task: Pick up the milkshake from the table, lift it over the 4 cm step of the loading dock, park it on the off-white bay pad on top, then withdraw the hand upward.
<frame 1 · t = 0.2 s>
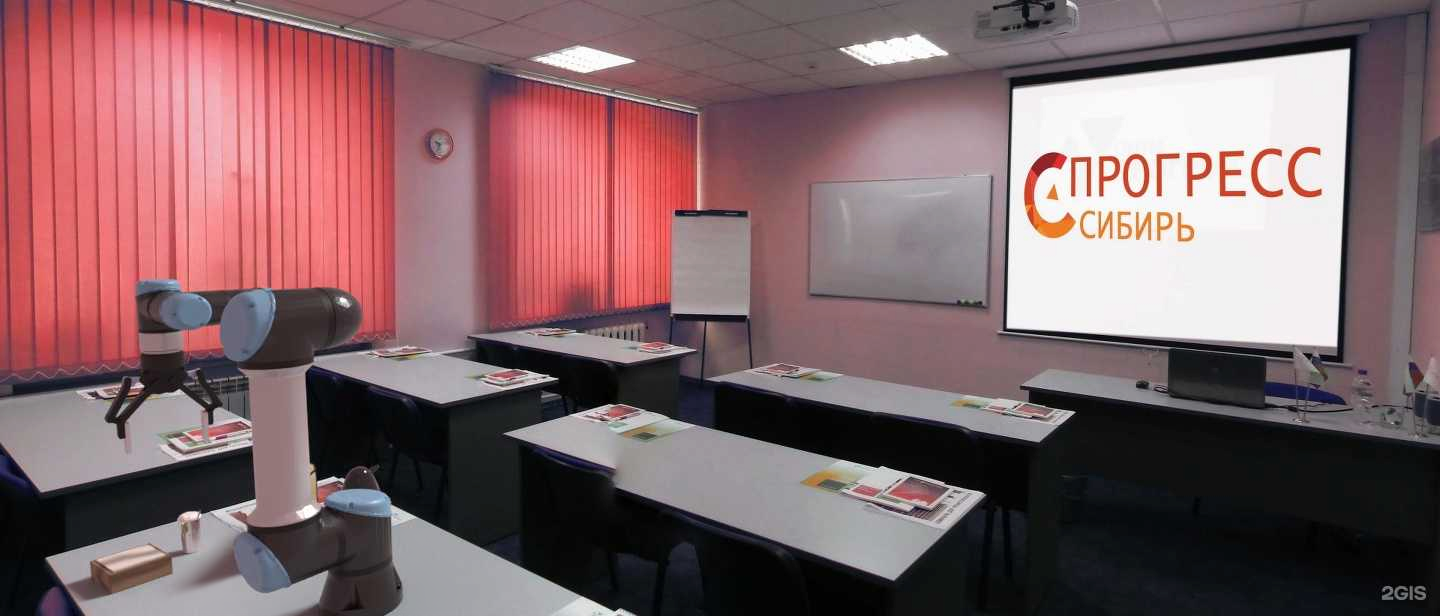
hand: (168, 446, 155), 27 cm above the table, tool pointing down, fingers open, 13 cm apart
dock: (132, 576, 152), on the table
clutch purse: (283, 542, 170), on the table
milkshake: (193, 551, 164), on the table
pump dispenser: (361, 525, 180), on the table
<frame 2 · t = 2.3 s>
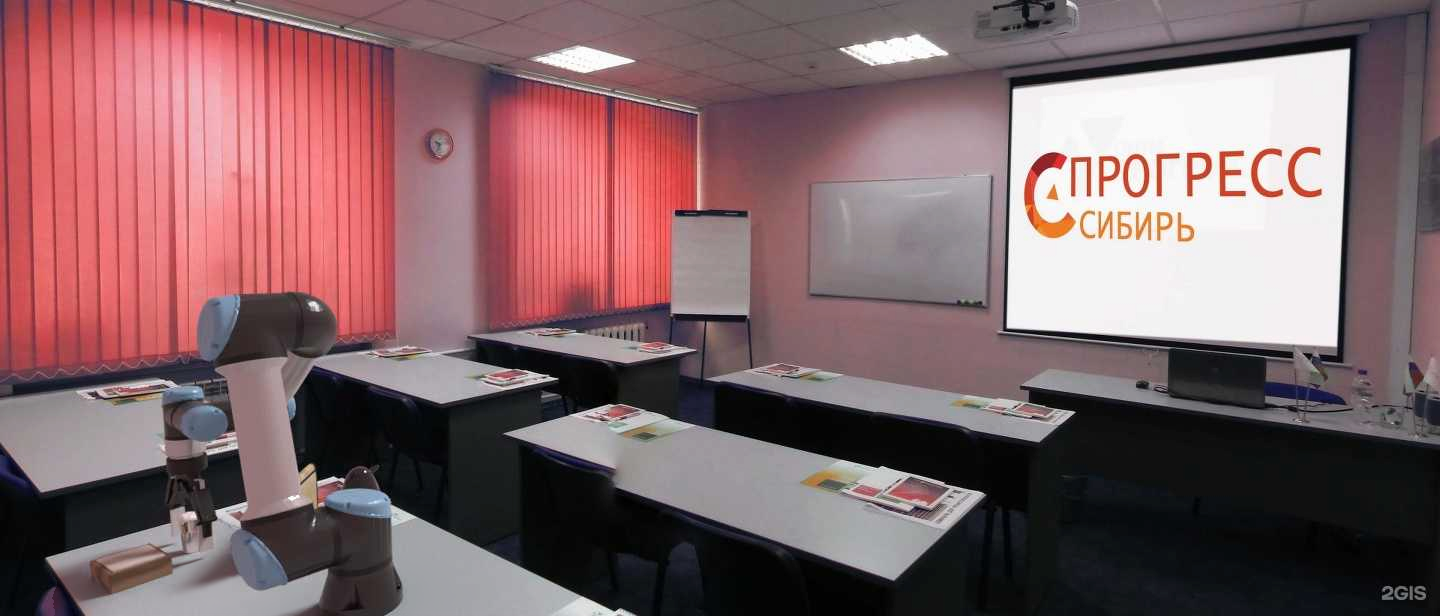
hand: (192, 542, 164), 2 cm above the table, tool pointing down, fingers open, 13 cm apart
nothing on the table moved.
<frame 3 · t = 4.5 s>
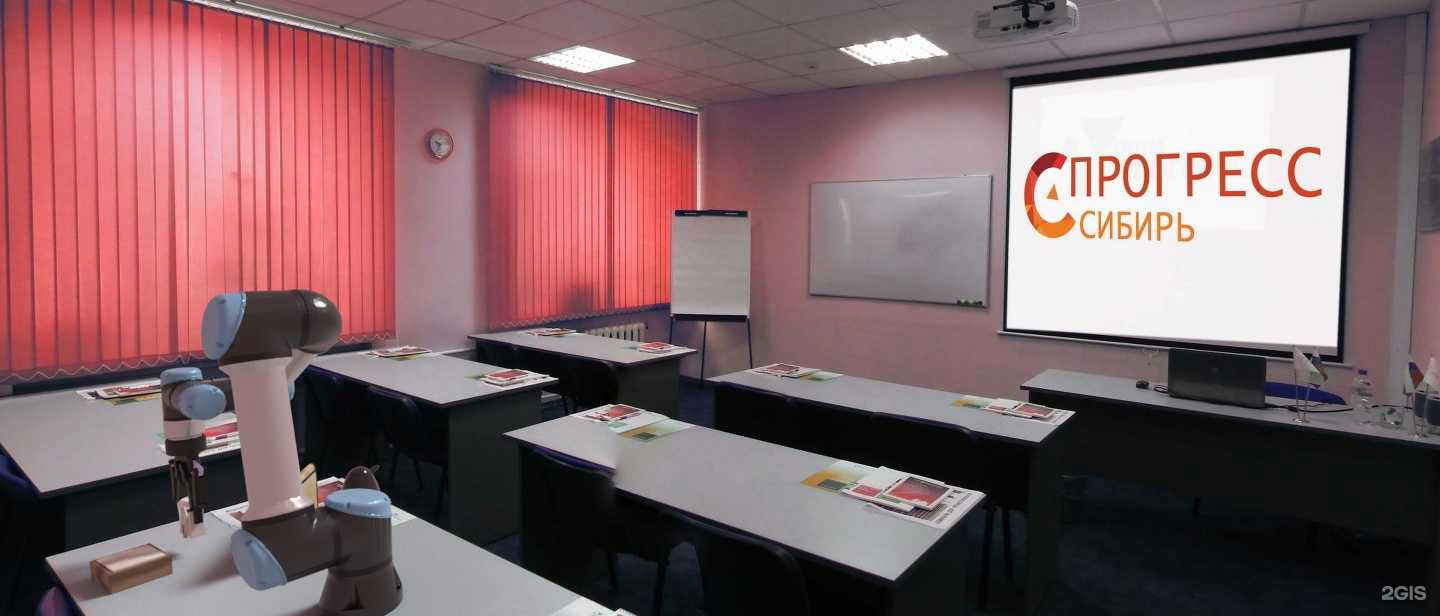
hand: (192, 533, 163), 4 cm above the table, tool pointing down, fingers closed on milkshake, 4 cm apart
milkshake: (193, 536, 163), point 4 cm above the table, touching gripper
everything else where it was.
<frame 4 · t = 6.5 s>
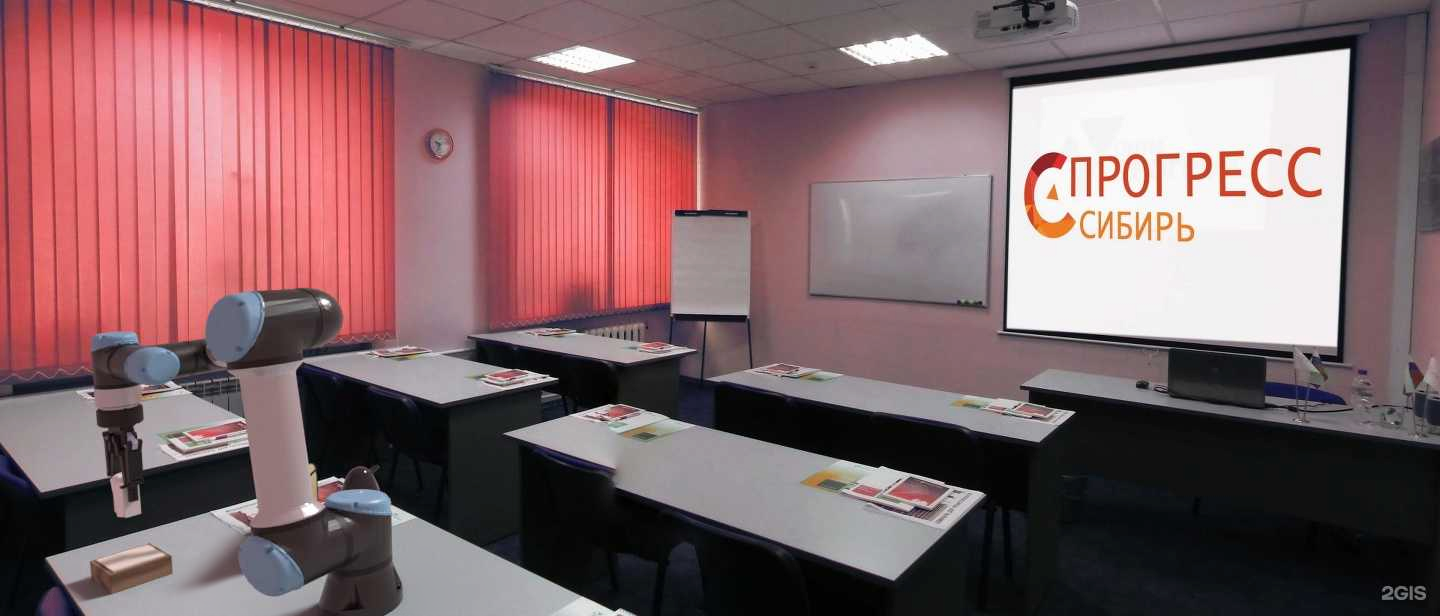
hand: (127, 512, 150), 14 cm above the table, tool pointing down, fingers closed on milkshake, 4 cm apart
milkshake: (128, 515, 150), point 14 cm above the table, touching gripper
everything else where it was.
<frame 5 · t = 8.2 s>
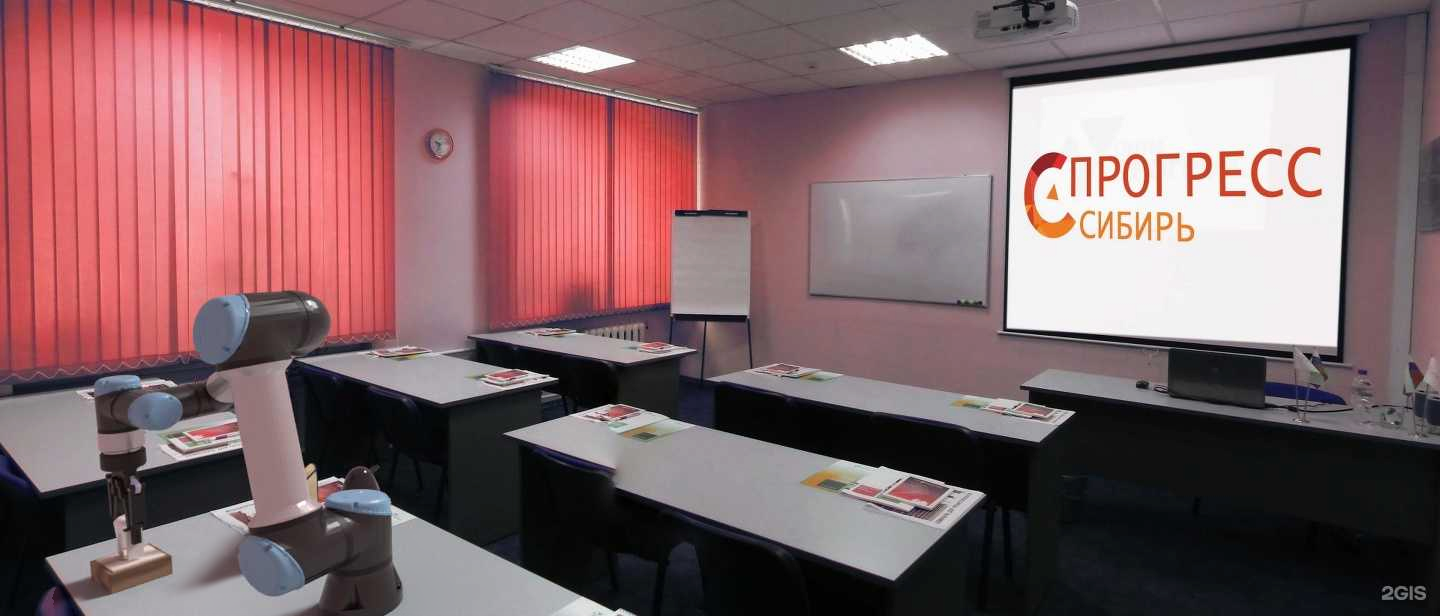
hand: (131, 554, 151), 5 cm above the table, tool pointing down, fingers closed on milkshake, 4 cm apart
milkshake: (131, 557, 151), point 4 cm above the table, touching gripper
everything else where it was.
when the fingers open (5 cm above the table, at t = 8.8 s): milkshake stays where it is, resting on dock.
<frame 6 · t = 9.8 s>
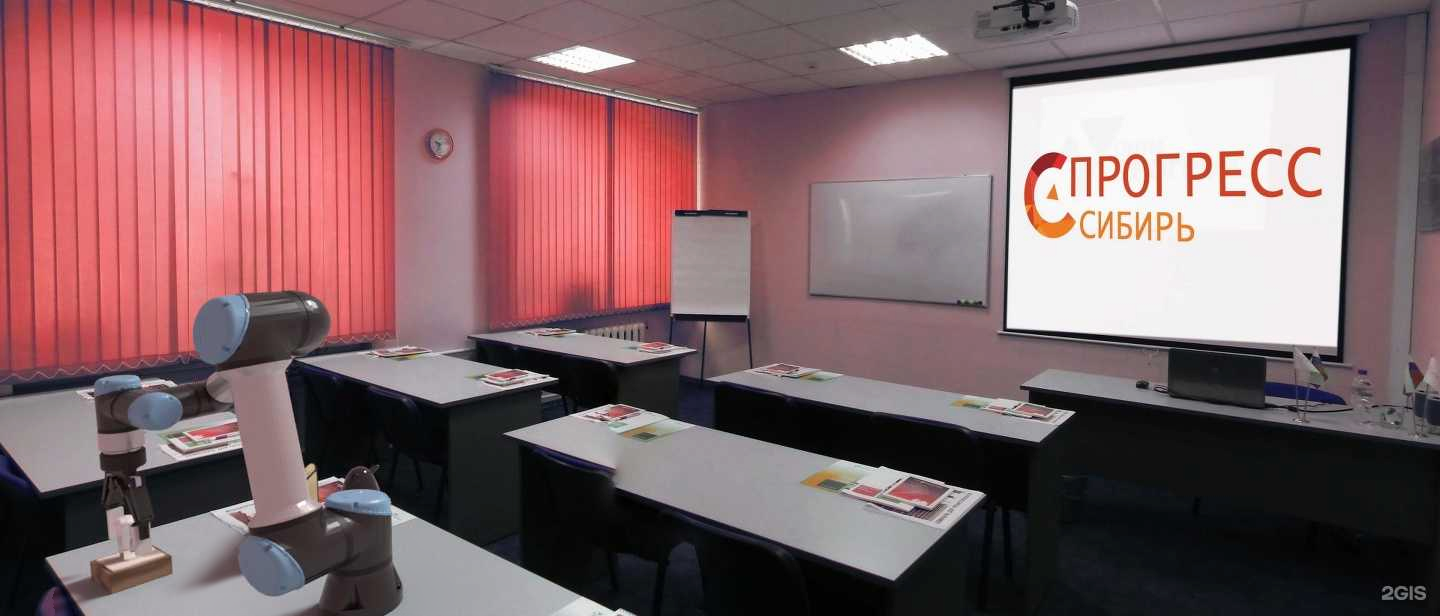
hand: (130, 545, 151), 7 cm above the table, tool pointing down, fingers open, 13 cm apart
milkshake: (131, 558, 151), point 4 cm above the table, touching dock
everything else where it was.
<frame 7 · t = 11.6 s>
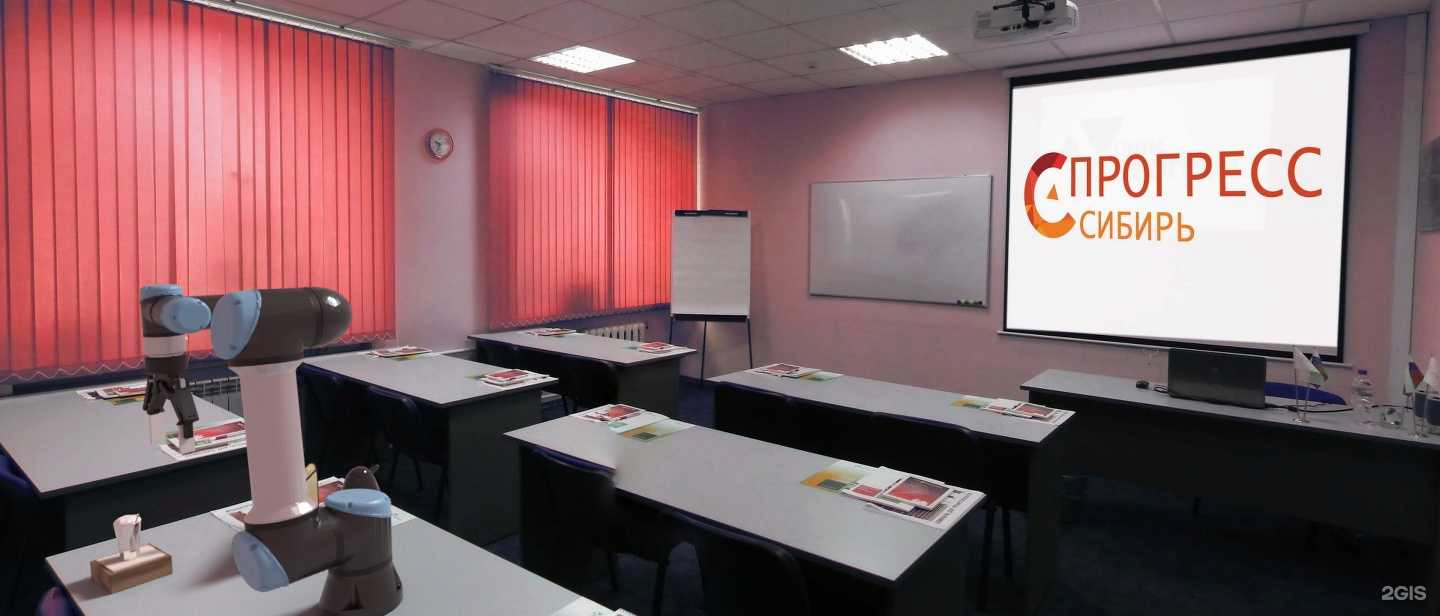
hand: (172, 447, 159), 26 cm above the table, tool pointing down, fingers open, 13 cm apart
nothing on the table moved.
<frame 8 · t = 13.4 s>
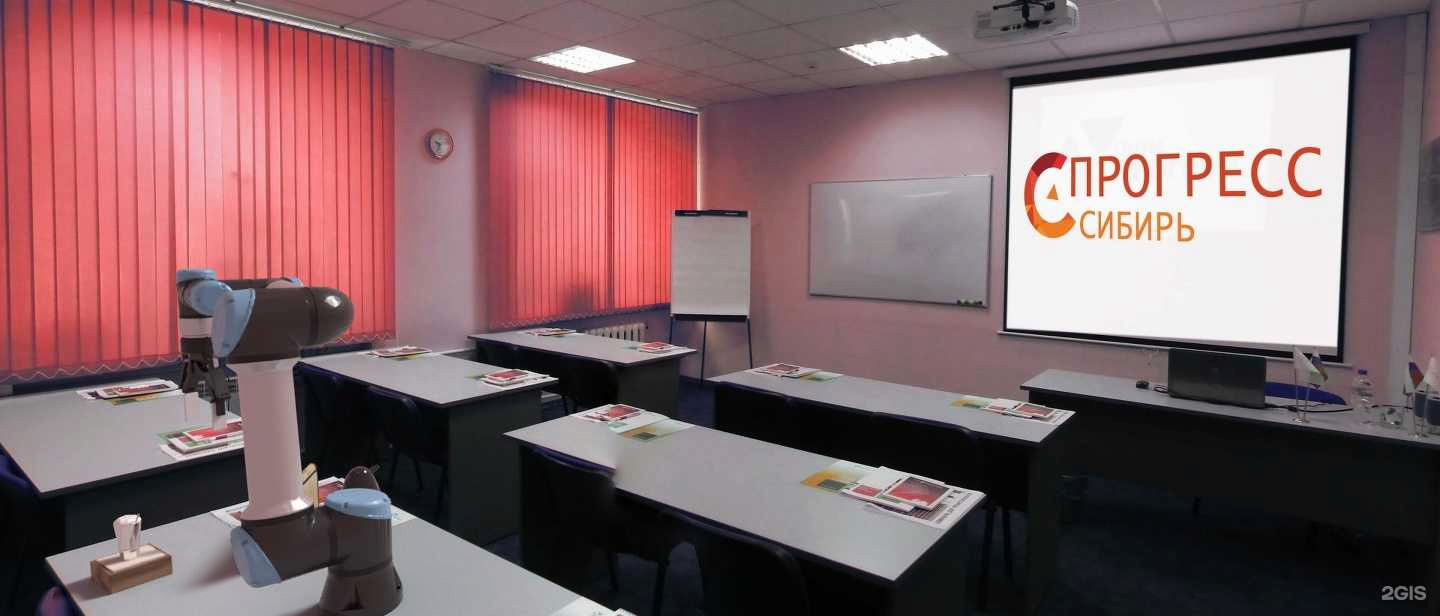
hand: (205, 424, 166), 29 cm above the table, tool pointing down, fingers open, 13 cm apart
nothing on the table moved.
at the end: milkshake inside the target area on the dock (0.3 cm from its centre), point 4.1 cm above the dock's base; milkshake tilted 0°; the gripper is holding nothing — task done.
